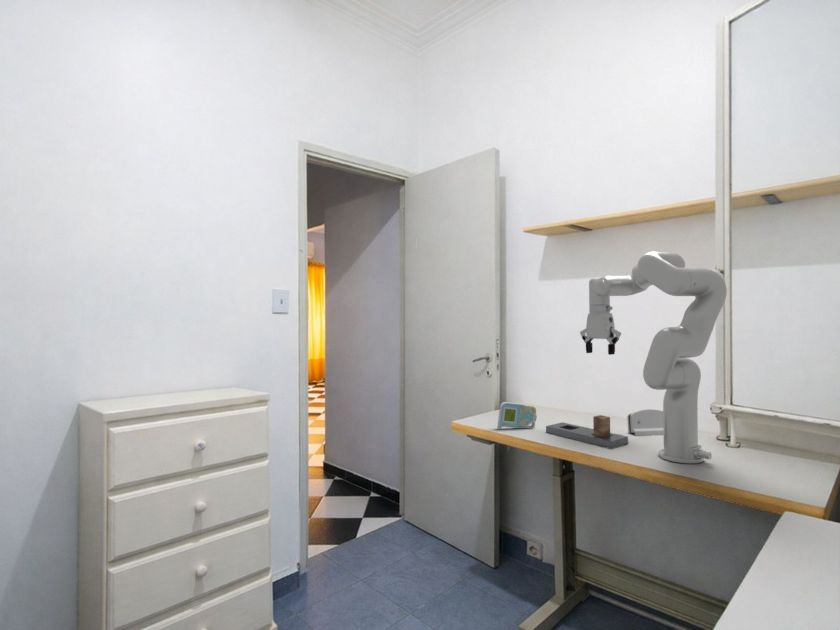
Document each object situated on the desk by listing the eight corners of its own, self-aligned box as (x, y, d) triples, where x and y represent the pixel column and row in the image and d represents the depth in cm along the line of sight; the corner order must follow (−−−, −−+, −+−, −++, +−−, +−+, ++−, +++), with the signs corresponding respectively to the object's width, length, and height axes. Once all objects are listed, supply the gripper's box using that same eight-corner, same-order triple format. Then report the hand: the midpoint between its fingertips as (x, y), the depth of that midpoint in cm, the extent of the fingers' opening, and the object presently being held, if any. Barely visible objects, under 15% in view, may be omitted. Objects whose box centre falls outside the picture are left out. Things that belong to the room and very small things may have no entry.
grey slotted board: (628, 443, 166) (627, 436, 166) (611, 448, 160) (611, 441, 160) (562, 428, 188) (562, 422, 188) (546, 432, 183) (545, 426, 183)
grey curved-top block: (634, 436, 175) (629, 409, 179) (628, 437, 180) (623, 411, 183) (677, 434, 177) (671, 407, 180) (669, 435, 181) (664, 409, 185)
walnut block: (610, 442, 168) (610, 417, 168) (603, 444, 166) (603, 418, 166) (600, 439, 171) (600, 415, 171) (593, 441, 169) (593, 416, 169)
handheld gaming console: (534, 433, 189) (498, 430, 187) (532, 432, 192) (496, 428, 190) (538, 406, 189) (502, 402, 187) (535, 405, 192) (500, 401, 190)
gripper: (625, 309, 178) (626, 354, 178) (586, 310, 192) (586, 351, 192) (614, 309, 174) (614, 355, 174) (574, 310, 188) (575, 352, 188)
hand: (600, 353), depth 183 cm, fingers open, 9 cm apart
